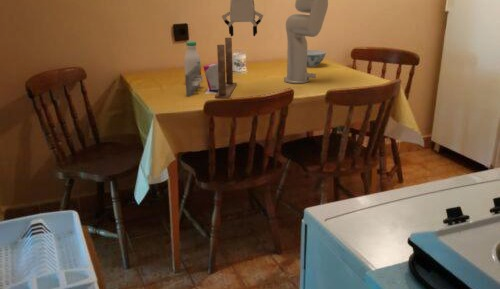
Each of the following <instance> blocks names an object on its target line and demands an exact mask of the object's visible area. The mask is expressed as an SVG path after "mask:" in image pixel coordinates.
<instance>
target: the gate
mask: <svg viewBox="0 0 500 289" xmlns="http://www.w3.org/2000/svg"><path fill="white" fill-rule="evenodd" d="M232 42H233V39H232V37H225V38H224V44H217V45H216V47H217V49H216V51H217V63H218V81H219V91H218V92H217V93H216V94H214V99H230V97H231V95H232V94H233V91H234V90H235V88H236V86H238V85H237V82H234V80H233V79H234V78H233V77H234V75H233V72H234V71H233V43H232Z"/></svg>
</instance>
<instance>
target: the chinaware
mask: <svg viewBox="0 0 500 289" xmlns="http://www.w3.org/2000/svg"><path fill="white" fill-rule="evenodd" d="M325 57H326V51H325V50H319V49H318V50H317V49H307V66H308V67H307V68H316V67H319V66H318V65H319V64H321V63H322V62H323V61H324V59H325Z"/></svg>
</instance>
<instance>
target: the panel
mask: <svg viewBox="0 0 500 289" xmlns="http://www.w3.org/2000/svg"><path fill="white" fill-rule="evenodd" d="M184 79H186V81H185V90H186V97H187V98H188V97H191V96H192V95H193V94H194V93H195V92H196V91H197V89H198V88H199V87H200V86H201V82H202V81H203V80H204V75H201V76H199V66H195V67H194V68H193V69H192V70H191V71H190V72H188V73H187V74H186V75H185V74H184Z"/></svg>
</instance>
